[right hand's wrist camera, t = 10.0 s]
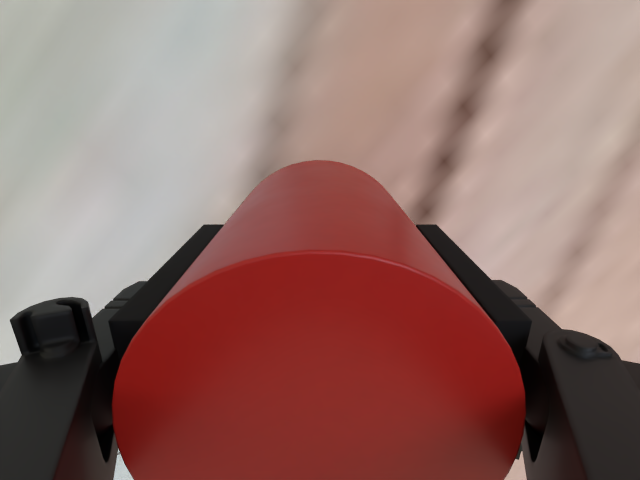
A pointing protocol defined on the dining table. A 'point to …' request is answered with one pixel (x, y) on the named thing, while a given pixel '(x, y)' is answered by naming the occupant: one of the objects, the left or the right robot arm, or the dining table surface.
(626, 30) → the dining table surface
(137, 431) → the can
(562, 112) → the dining table surface
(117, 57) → the dining table surface
